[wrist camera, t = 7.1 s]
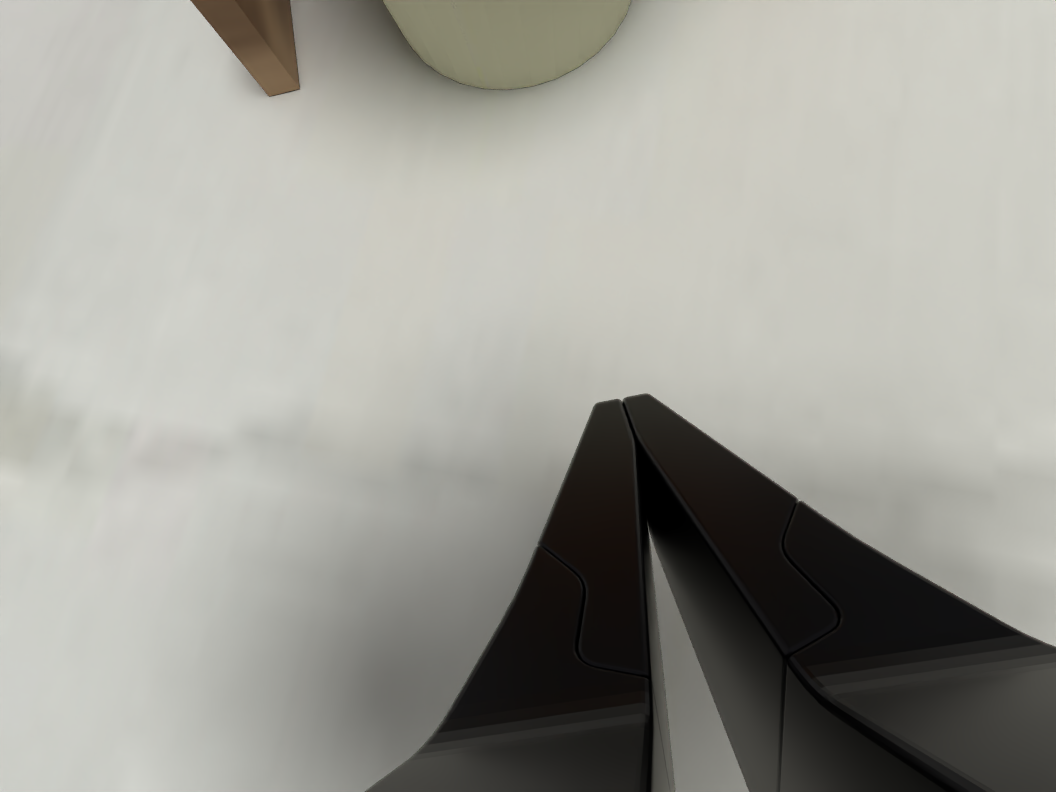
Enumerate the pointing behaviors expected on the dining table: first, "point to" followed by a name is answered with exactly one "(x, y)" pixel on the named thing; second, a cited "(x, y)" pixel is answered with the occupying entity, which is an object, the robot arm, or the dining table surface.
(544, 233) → the dining table surface
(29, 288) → the dining table surface
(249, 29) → the holder
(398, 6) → the reusable coffee cup
